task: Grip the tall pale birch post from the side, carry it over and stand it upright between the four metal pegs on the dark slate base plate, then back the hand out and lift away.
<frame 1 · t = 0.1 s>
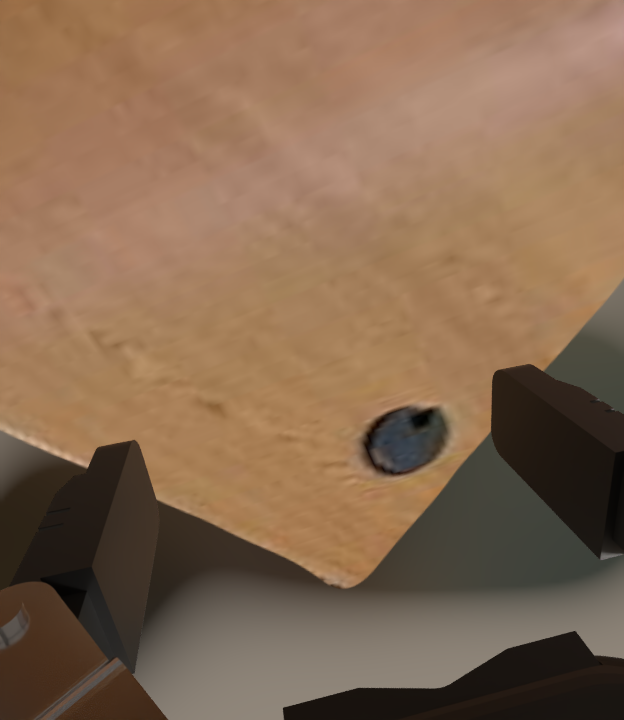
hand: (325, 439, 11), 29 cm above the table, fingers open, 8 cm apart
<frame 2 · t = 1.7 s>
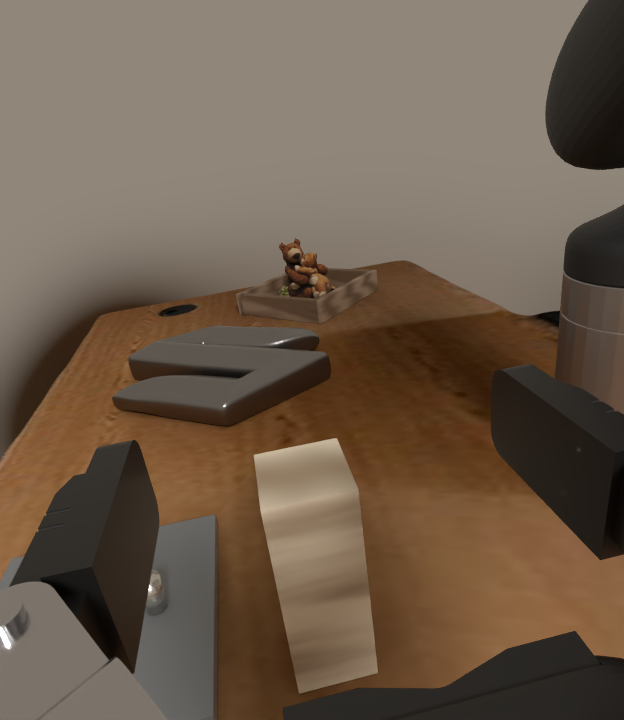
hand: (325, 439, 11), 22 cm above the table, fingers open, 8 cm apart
bear figurine: (311, 302, 98), resting in walnut display rim
emblem: (227, 382, 68), on the table
walnut display rim: (310, 301, 97), on the table
slate base plate: (98, 633, 32), on the table
birch post: (330, 646, 30), on the table
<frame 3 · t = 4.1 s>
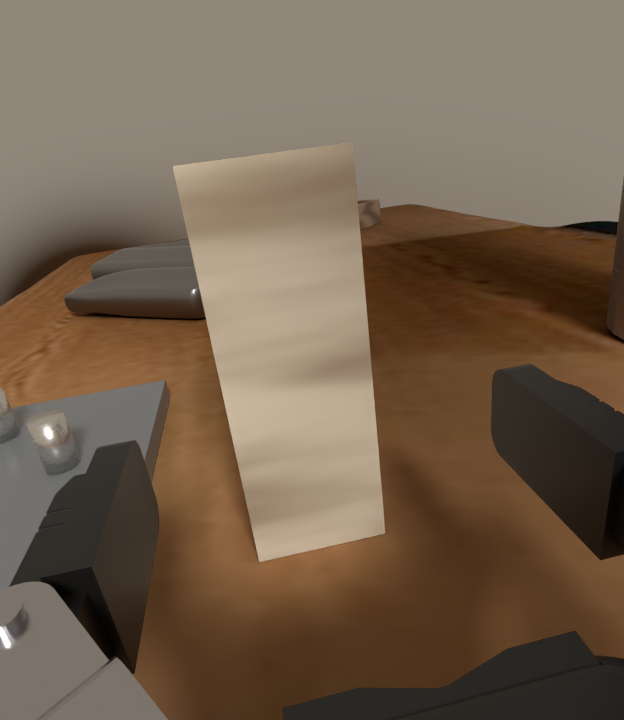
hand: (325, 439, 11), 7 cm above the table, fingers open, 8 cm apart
emblem: (205, 292, 58), on the table
walnut display rim: (305, 234, 87), on the table
birch post: (312, 506, 19), on the table
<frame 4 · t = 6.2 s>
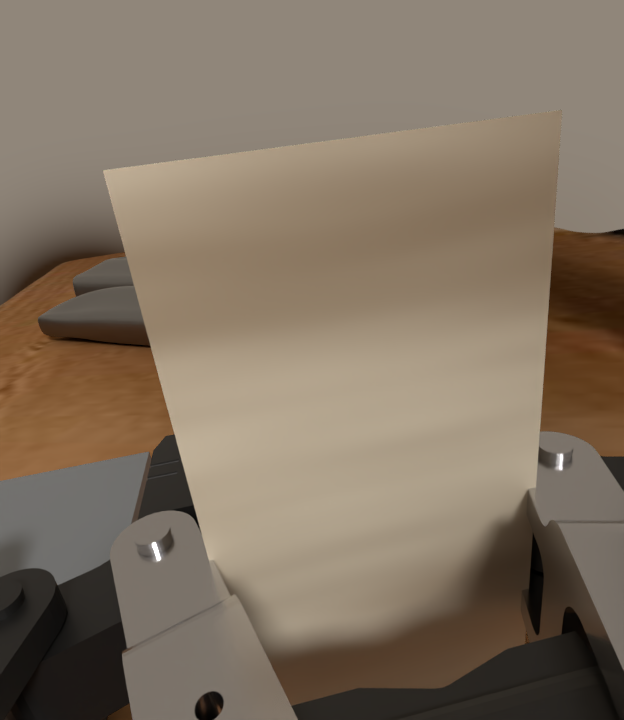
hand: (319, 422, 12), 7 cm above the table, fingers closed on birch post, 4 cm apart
emblem: (203, 310, 50), on the table
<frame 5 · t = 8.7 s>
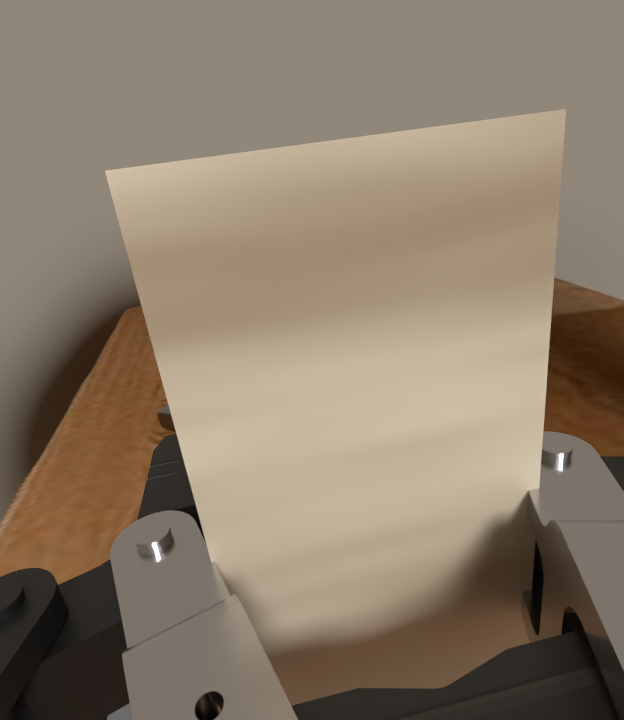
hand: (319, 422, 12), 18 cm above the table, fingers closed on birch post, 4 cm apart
when the fingers open (10 cm above the table, at t = 11.3 s): birch post drops 1 cm, resting on slate base plate.
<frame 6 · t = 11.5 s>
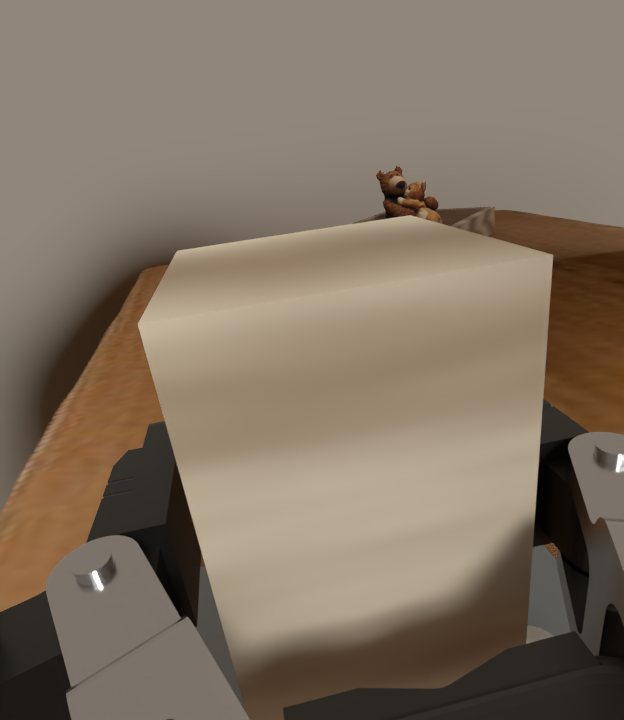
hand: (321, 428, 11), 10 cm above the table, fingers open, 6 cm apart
bear figurine: (413, 247, 78), resting in walnut display rim
walnut display rim: (412, 245, 77), on the table
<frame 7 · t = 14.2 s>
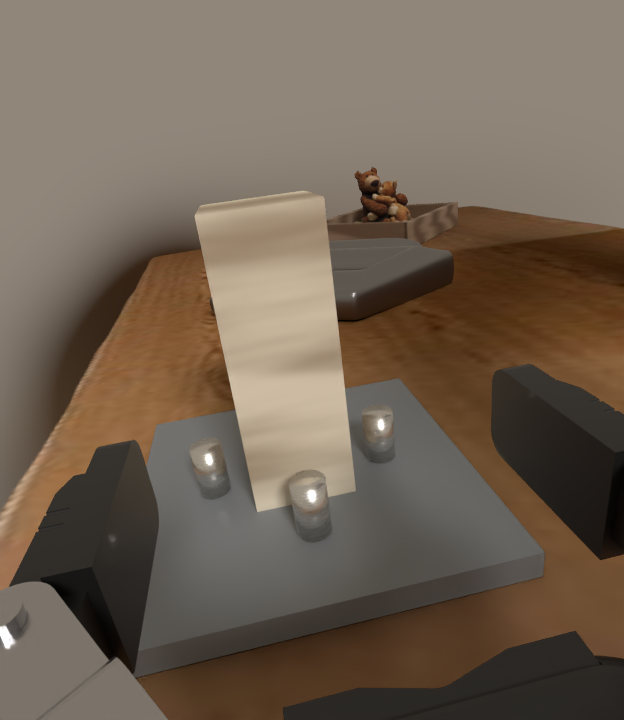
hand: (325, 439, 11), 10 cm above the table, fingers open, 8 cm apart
bear figurine: (387, 237, 90), resting in walnut display rim
emblem: (329, 294, 60), on the table
walnut display rim: (385, 236, 89), on the table
slate base plate: (302, 491, 25), on the table
birch post: (299, 472, 24), point 1 cm above the table, touching slate base plate
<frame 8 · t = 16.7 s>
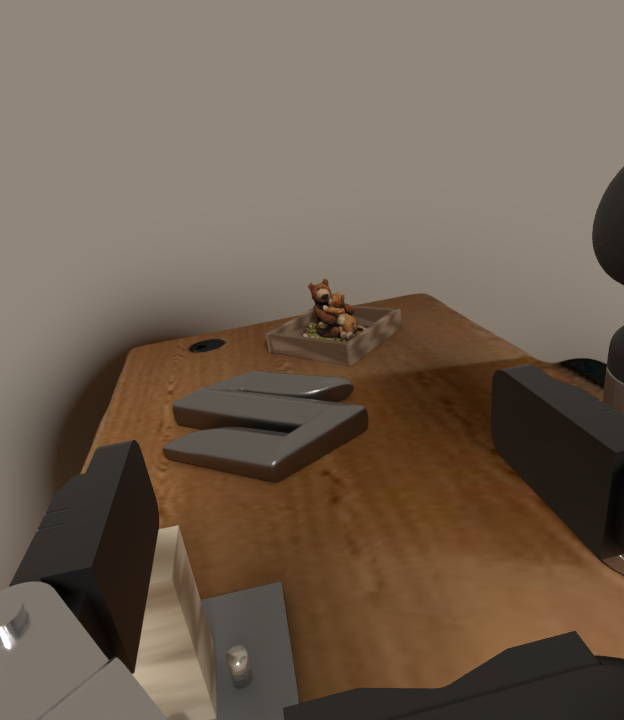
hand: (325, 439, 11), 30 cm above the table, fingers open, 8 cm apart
bear figurine: (338, 339, 101), resting in walnut display rim
emblem: (268, 430, 71), on the table
walnut display rim: (336, 339, 100), on the table
slate base plate: (188, 703, 36), on the table
birch post: (185, 693, 35), point 1 cm above the table, touching slate base plate
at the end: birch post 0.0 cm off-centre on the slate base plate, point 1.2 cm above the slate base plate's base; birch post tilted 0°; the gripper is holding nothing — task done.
